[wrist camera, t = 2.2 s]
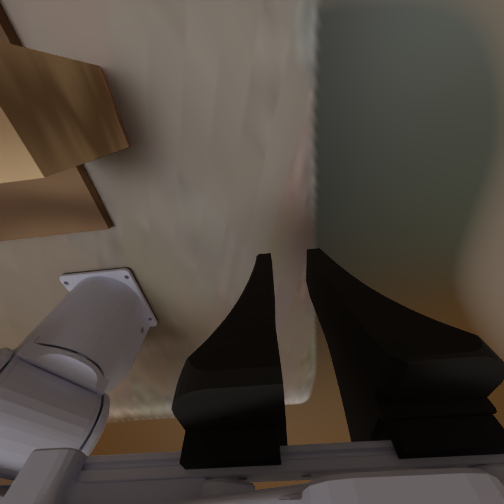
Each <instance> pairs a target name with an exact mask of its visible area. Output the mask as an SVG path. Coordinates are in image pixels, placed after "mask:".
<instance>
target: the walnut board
mask: <svg viewBox="0 0 504 504" xmlns="http://www.w3.org/2000/svg"><path fill="white" fill-rule="evenodd" d="M0 42H4V43H8V44H12V45H16V46H21V44H20V42H19V40H18V38H17V36H16V34H15V32H14V30H13V29H12V27H11V25H10V23H9V21H8V19H7V17H6V15H5V13H4V11H3V9H2V7H1V5H0ZM21 47H22V46H21ZM112 226H113V224H112V222H111V220H110V218H109V216H108V214H107V212H106V210H105V208H104V206H103V204H102V202H101V200H100V198H99V196H98V194H97V192H96V190H95V189H94V187H93V185H92V183H91V181H90V179H89V177H88V175H87V173H86V171H85V169H84V167H83V165H82V164H81V165H78V166H75V167H73V168H70V169H67V170H64V171H62V172H59V173H56V174H53V175H51V176H48V177H45V178H38V179H30V180H22V181H14V182H6V183H0V241H5V240H14V239H23V238H33V237H42V236H51V235H60V234H69V233H78V232H87V231H96V230H105V229H110V228H111V227H112Z"/></svg>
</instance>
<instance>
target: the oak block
mask: <svg viewBox="0 0 504 504" xmlns="http://www.w3.org/2000/svg"><path fill="white" fill-rule="evenodd" d="M128 147H130V144H129V142H128V139H127V136H126V134H125V131H124V128H123V126H122V123H121V121H120V118H119V115H118V113H117V110H116V107H115V105H114V102H113V100H112V97H111V94H110V92H109V89H108V87H107V84H106V81H105V79H104V76H103V73H102V71H101V68H100V66H97V65H93V64H89V63H85V62H81V61H77V60H73V59H69V58H65V57H61V56H57V55H53V54H49V53H45V52H41V51H37V50H33V49H29V48H25V47H21V46H16V45H12V44H8V43H4V42H0V183H6V182H14V181H22V180H30V179H38V178H45V177H48V176H51V175H53V174H56V173H59V172H62V171H64V170H67V169H70V168H73V167H75V166H78V165H81V164H84V163H86V162H89V161H92V160H95V159H97V158H100V157H103V156H106V155H108V154H111V153H114V152H117V151H119V150H122V149H125V148H128Z"/></svg>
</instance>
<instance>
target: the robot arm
mask: <svg viewBox="0 0 504 504" xmlns="http://www.w3.org/2000/svg"><path fill="white" fill-rule="evenodd" d="M128 276H129V277H128ZM59 279H60V281H61V282H62V284H63V285H64V286H65V287H66V289H67V290H68V291H69V293H68V294H67V295H66V296H65V297H64V299H63V300H62V301H61V302H60V303H59V304H58V305H57V306H56V307H55V308H54V309H53V310H52V311H51V312H50V313H49V314H48V315H47V316H46V317H45V319H44V320H43V321H42V322H41V323H40V324H39V325H38V326H37V327H36V328H35V329H34V330H33V331H32V332H31V333H30V334H29V335H28V336H27V337H26V339H25V340H24V341H23V342H22V343H21V344H20V345H19V346H18V347H17V348H16V349H14V350H12V349H9V348H6V347H5V348H2V349H0V478H5V479H10V480H14V482H13V483H12V484H11V485H0V504H504V428H503V427H502V426H501V424H500V423H499V422H498V420H497V419H496V418H495V417H494V415H493V414H495V413H496V412H497V410H496V408H495V407H494V405H493V404H492V403H491V402H490V400H489V399H488V398H487V397H488V396H489V395H490V394H491V393H492V392H493V391H494V390H495V389H496V388H497V387H498V385H500V384H501V383H502V382H503V380H504V362H503V361H502V359H500V358H499V357H498V355H497V354H496V353H495V352H493V350H492V349H491V348H490V347H489V346H488V345H487V344H486V343H485V342H484V341H483V340H482V339H481V338H480V337H478V336H477V335H474V334H471V333H469V332H466V331H463V330H461V329H458V328H455V327H452V326H450V325H447V324H444V323H441V322H439V321H436V320H434V319H432V318H429V317H427V316H424V315H422V314H420V313H418V312H415V311H413V310H411V309H408V308H407V307H405V306H403V305H400V304H399V303H397V302H395V301H393V300H391V299H389V298H387V297H385V296H383V295H381V294H380V293H378V292H376V291H375V290H373V289H371V288H369V287H368V286H367V285H365V284H364V283H362V282H360V281H359V280H358V279H356V278H355V277H354V276H352V275H351V274H349V273H348V272H347V271H346V270H344V269H343V268H342V267H340V266H339V265H338V264H336V263H335V262H334V261H333V260H332V259H331V258H330V257H329V256H328V255H326V254H325V253H324V252H323V251H322V250H321V249H319V248H317V249H307V268H306V282H307V286H308V290H309V294H310V298H311V301H312V303H313V306H314V309H315V311H316V314H317V316H318V319H319V321H320V324H321V327H322V329H323V332H324V334H325V338H326V341H327V344H328V347H329V351H330V355H331V358H332V362H333V366H334V370H335V374H336V378H337V382H338V386H339V389H340V394H341V398H342V402H343V406H344V411H345V415H346V420H347V424H348V428H349V433H350V437H351V442H344V443H327V444H326V443H325V444H307V445H291V446H290V445H288V446H287V433H286V416H285V402H284V389H283V380H282V371H281V363H280V356H279V349H278V342H277V334H276V327H275V295H274V282H273V270H272V259H271V254H270V253H268V254H259V255H258V256H257V258H256V263H255V266H254V269H253V272H252V274H251V276H250V279H249V281H248V283H247V285H246V287H245V289H244V291H243V293H242V295H241V296H240V298H239V300H238V301H237V303H236V304H235V306H234V307H233V309H232V310H231V312H230V313H229V314H228V316H227V317H226V318H225V320H224V321H223V322H222V323H221V325H220V326H219V327H218V328H217V329H216V330H215V331H214V332H213V334H212V335H211V336H210V337H209V338H208V339H207V340H206V341H205V342H204V343H203V344H202V345H201V346H200V347H199V348H198V349H197V350H196V351H195V352H194V353H193V354H192V355H191V356H189V357H188V358H187V360H186V362H185V365H184V367H183V369H182V372H181V375H180V377H179V380H178V383H177V387H176V391H175V395H174V399H173V404H172V411H173V414H174V415H175V417H176V418H177V420H178V421H179V422H180V424H181V425H182V426H183V428H184V429H185V436H184V441H183V447H182V451H177V452H157V453H141V454H140V453H138V454H119V455H102V456H89V455H90V453H91V452H92V450H93V449H94V447H95V445H96V444H97V442H98V440H99V438H100V436H101V434H102V432H103V430H104V428H105V425H106V422H107V419H108V415H109V407H110V398H109V396H108V395H107V394H106V393H105V392H107V391H109V390H111V389H113V388H114V387H116V386H117V385H118V384H119V383H120V382H121V381H122V380H123V379H124V378H125V377H126V376H127V374H128V373H129V371H130V370H131V368H132V366H133V364H134V361H135V359H136V357H137V355H138V352H139V350H140V348H141V346H142V343H143V341H144V339H145V337H146V334H147V332H148V330H149V328H150V327H154V326H157V323H158V322H157V320H156V318H155V316H154V314H153V312H152V311H151V309H150V307H149V305H148V303H147V301H146V299H145V297H144V295H143V294H142V292H141V290H140V288H139V286H138V284H137V282H136V280H135V279H134V277H133V275H132V273H131V271H130V270H129V269H127V268H121V269H111V270H101V271H91V272H82V273H72V274H63V275H61V276H60V277H59ZM313 479H314V480H313ZM290 480H311V481H310V482H309V483H305V484H297V485H290V486H282V487H275V488H267V489H260V490H255V486H254V485H253V484H252V483H249V482H266V481H267V482H268V481H290Z"/></svg>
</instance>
